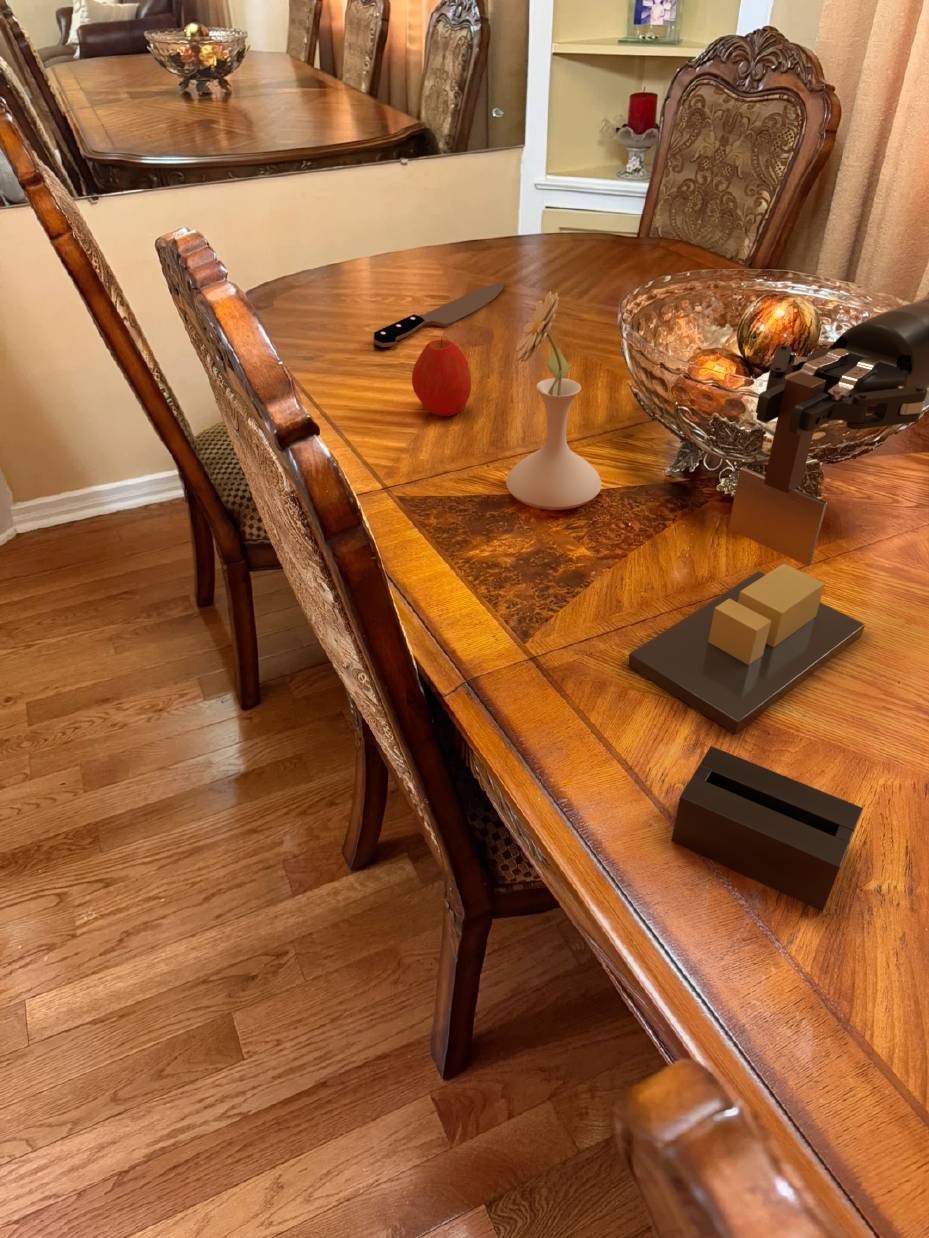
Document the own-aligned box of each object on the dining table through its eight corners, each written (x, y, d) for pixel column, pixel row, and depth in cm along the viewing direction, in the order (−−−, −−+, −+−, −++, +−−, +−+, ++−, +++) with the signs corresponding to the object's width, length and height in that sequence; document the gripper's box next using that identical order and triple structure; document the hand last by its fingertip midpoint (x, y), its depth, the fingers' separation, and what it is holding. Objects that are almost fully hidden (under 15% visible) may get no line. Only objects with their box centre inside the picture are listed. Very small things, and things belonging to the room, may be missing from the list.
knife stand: (701, 789, 70) (710, 745, 67) (846, 852, 65) (863, 807, 62) (670, 841, 66) (679, 796, 63) (822, 912, 61) (840, 867, 58)
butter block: (775, 596, 88) (783, 562, 86) (815, 617, 85) (825, 583, 83) (732, 625, 85) (739, 591, 82) (773, 647, 82) (782, 613, 79)
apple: (404, 418, 125) (399, 343, 119) (430, 396, 131) (427, 324, 125) (457, 428, 123) (455, 352, 116) (481, 405, 128) (481, 332, 122)
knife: (736, 524, 79) (768, 361, 70) (816, 561, 74) (862, 391, 65) (722, 532, 78) (753, 368, 69) (802, 570, 73) (847, 399, 64)
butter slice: (722, 632, 84) (729, 598, 81) (763, 655, 81) (771, 620, 79) (707, 641, 83) (714, 607, 80) (748, 665, 80) (756, 630, 77)
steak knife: (520, 290, 171) (522, 278, 170) (395, 357, 144) (395, 343, 143) (497, 283, 173) (498, 271, 172) (369, 347, 146) (369, 334, 145)
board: (755, 582, 93) (758, 570, 92) (861, 636, 85) (865, 624, 84) (627, 665, 82) (629, 653, 81) (735, 734, 75) (738, 722, 74)
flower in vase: (524, 466, 114) (529, 263, 98) (611, 481, 110) (631, 274, 95) (487, 515, 104) (486, 300, 89) (581, 534, 100) (597, 313, 85)
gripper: (832, 292, 77) (710, 342, 69) (993, 333, 69) (877, 396, 60) (813, 374, 82) (696, 431, 73) (962, 422, 74) (850, 493, 65)
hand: (778, 415), depth 67 cm, fingers closed on knife, 2 cm apart
